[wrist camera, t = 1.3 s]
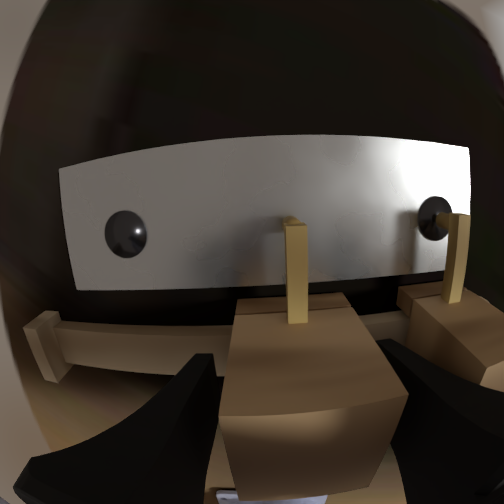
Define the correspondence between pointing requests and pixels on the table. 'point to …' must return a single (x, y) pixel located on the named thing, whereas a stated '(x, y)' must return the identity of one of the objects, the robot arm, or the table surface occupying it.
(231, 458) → the brown block with peg
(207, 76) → the table surface
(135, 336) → the rail
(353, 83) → the table surface
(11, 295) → the table surface
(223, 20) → the table surface
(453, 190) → the bolt plate
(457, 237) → the fixed leg
